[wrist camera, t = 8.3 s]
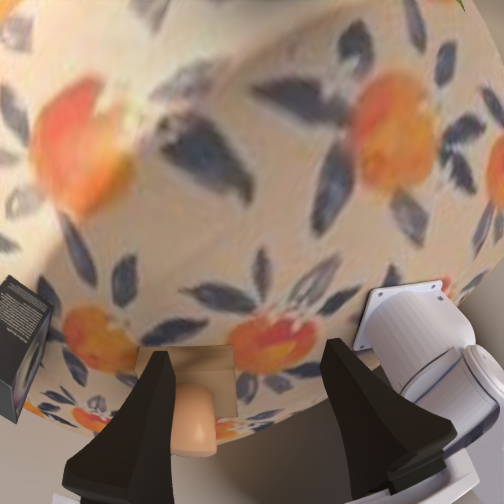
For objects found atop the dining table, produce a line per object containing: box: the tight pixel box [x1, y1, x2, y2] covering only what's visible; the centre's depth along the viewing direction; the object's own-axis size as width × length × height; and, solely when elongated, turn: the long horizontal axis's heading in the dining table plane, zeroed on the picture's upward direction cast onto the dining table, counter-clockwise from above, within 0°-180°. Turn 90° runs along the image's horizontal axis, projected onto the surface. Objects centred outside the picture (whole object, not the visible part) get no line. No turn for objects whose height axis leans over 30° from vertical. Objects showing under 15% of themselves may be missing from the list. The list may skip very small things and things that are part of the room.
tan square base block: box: [134, 345, 238, 418], centre depth 25 cm, size 9×9×3 cm
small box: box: [0, 275, 53, 424], centre depth 17 cm, size 11×6×10 cm, turn 142°
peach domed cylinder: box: [170, 384, 217, 458], centre depth 21 cm, size 5×5×6 cm
